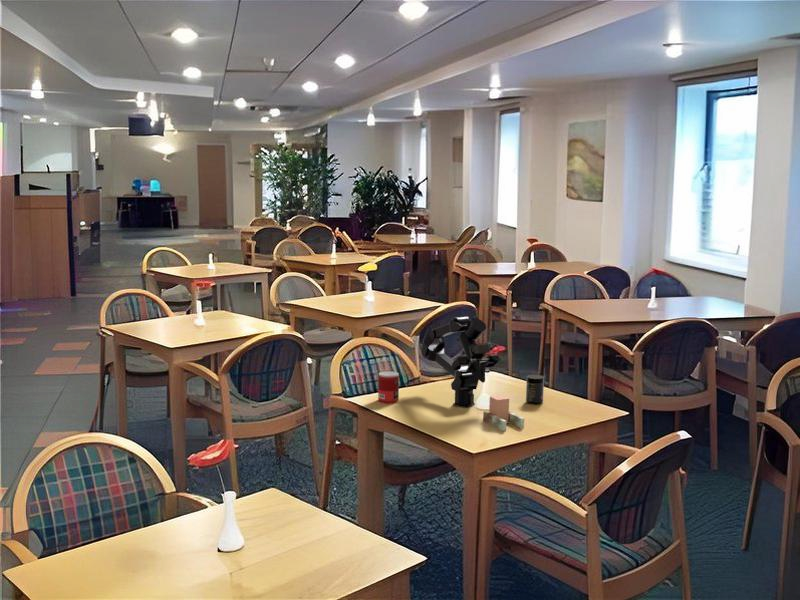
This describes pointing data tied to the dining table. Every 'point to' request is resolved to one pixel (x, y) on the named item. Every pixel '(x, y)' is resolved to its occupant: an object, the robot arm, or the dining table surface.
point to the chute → (501, 422)
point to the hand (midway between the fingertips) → (483, 382)
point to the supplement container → (534, 389)
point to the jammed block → (499, 407)
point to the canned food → (388, 387)
